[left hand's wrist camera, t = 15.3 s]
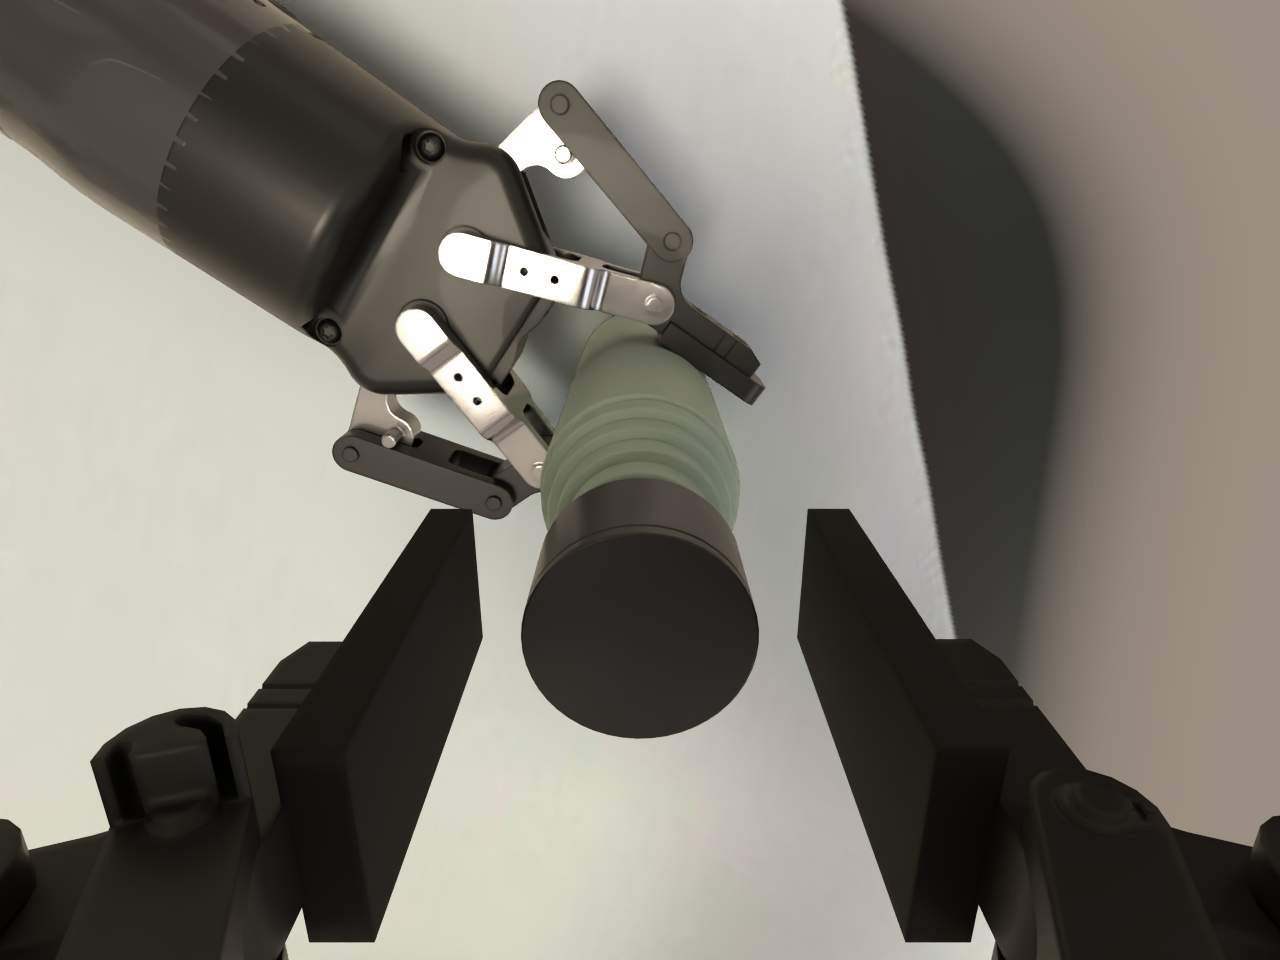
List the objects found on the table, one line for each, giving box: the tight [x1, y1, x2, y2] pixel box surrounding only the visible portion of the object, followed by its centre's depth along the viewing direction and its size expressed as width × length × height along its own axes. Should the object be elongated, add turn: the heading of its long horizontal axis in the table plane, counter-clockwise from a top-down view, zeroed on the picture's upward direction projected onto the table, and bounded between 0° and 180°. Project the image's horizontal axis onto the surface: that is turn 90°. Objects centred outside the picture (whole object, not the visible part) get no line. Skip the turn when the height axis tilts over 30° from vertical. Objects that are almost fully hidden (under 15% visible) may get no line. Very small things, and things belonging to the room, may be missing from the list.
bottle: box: [540, 315, 739, 531], centre depth 22 cm, size 5×5×20 cm
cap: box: [521, 478, 759, 739], centre depth 13 cm, size 4×4×2 cm
